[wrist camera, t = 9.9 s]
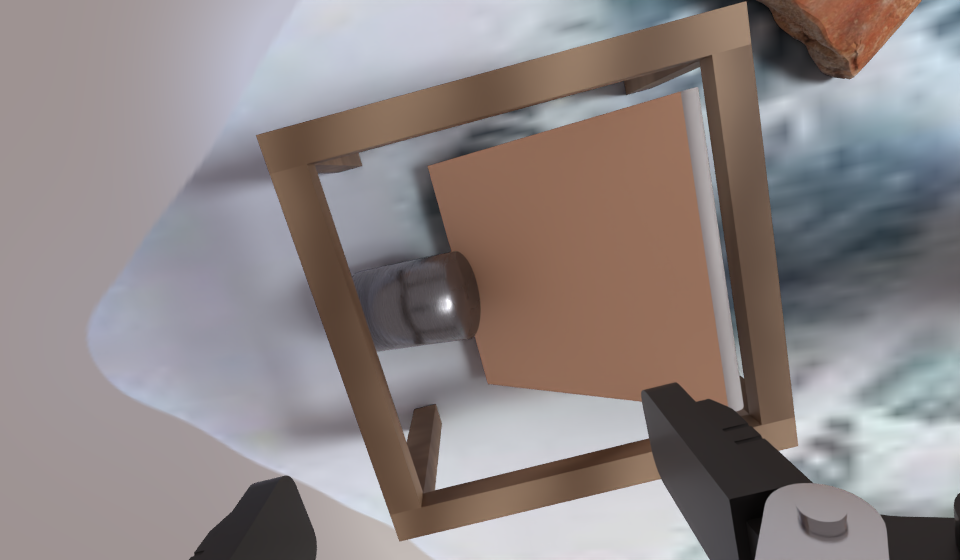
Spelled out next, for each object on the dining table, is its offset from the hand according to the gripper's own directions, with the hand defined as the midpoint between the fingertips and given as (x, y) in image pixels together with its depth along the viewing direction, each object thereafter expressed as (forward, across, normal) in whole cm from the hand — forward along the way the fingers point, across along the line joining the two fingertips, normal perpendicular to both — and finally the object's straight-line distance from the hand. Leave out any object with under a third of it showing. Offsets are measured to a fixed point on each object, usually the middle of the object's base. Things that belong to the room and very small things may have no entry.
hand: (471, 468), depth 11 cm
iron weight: (+16, 0, 0) cm, 16 cm away
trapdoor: (+15, -5, 0) cm, 16 cm away
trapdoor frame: (+20, -3, 0) cm, 20 cm away
